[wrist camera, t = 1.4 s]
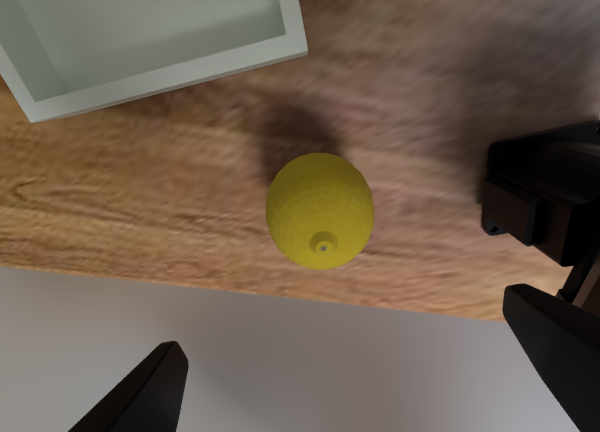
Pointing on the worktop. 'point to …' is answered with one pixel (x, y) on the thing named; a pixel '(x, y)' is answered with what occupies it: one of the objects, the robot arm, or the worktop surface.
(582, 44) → the worktop surface
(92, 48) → the tray
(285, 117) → the worktop surface
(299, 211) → the lemon
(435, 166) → the worktop surface
